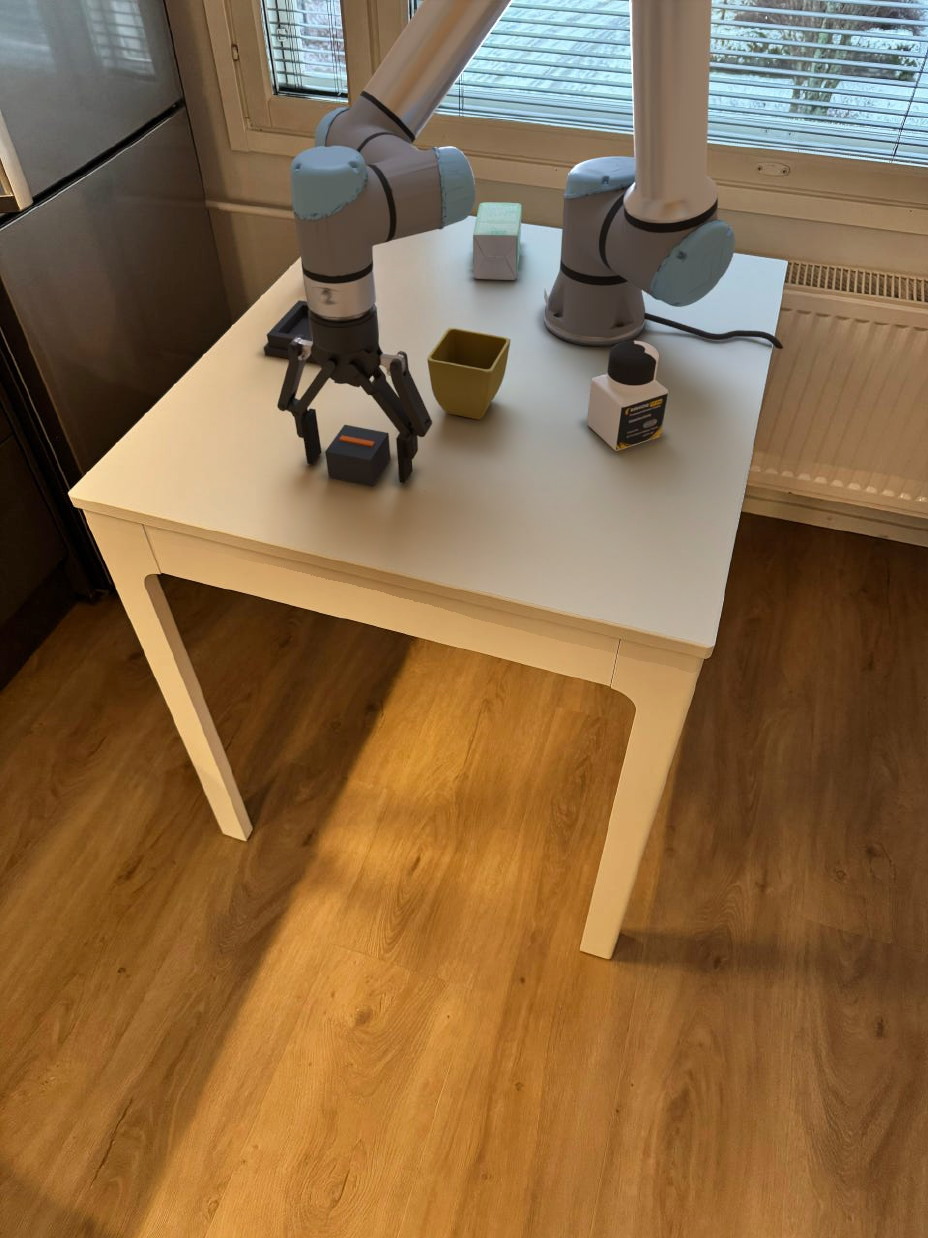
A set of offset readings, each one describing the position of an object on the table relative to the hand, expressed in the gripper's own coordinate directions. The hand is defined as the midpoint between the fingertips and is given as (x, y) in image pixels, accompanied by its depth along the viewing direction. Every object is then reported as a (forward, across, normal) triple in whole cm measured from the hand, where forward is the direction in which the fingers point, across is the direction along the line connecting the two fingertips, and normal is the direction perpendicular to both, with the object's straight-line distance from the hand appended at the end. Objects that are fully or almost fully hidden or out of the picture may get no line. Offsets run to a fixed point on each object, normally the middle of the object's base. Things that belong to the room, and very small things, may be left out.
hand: (359, 467), depth 115 cm
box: (0, 0, +60) cm, 60 cm away
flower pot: (0, +9, +17) cm, 19 cm away
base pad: (0, -18, +27) cm, 33 cm away
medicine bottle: (0, +30, +18) cm, 35 cm away
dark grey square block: (0, 0, 0) cm, 0 cm away
